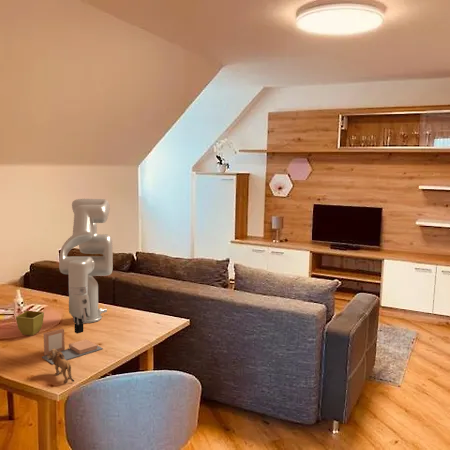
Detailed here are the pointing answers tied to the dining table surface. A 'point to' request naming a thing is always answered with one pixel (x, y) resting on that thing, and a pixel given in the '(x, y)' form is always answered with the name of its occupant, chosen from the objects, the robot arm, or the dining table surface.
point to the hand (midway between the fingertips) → (79, 332)
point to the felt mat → (71, 354)
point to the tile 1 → (54, 341)
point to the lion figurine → (60, 363)
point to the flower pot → (30, 322)
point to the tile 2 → (83, 346)
